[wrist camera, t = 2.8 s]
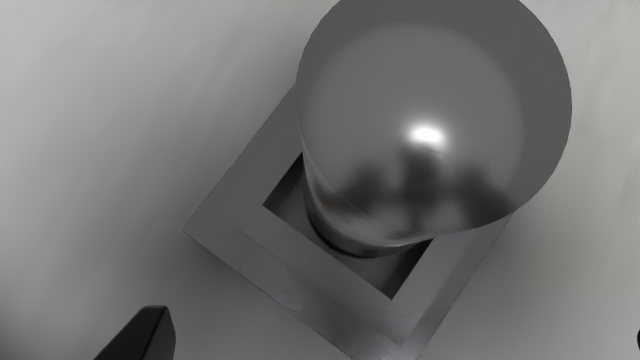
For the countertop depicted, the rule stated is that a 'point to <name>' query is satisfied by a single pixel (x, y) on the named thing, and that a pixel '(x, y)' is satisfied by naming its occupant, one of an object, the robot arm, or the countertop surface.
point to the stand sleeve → (330, 254)
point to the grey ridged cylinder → (426, 119)
